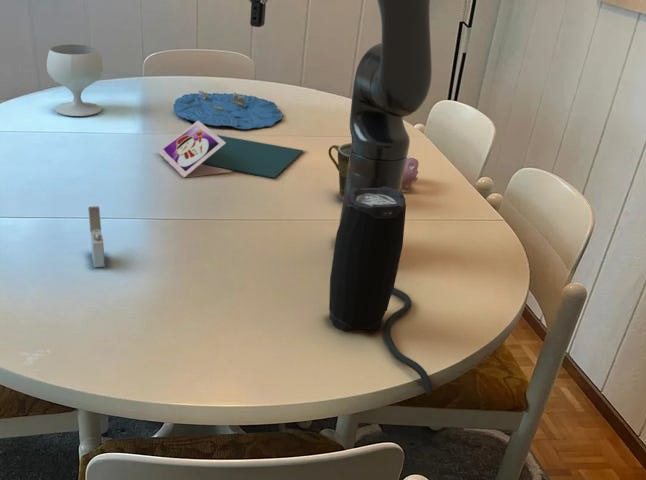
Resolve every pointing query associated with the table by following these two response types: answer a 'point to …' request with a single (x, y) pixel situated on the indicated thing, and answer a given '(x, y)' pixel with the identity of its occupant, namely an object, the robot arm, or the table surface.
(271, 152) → the placemat
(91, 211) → the lighter
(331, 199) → the table surface
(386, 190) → the portable speaker
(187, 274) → the table surface
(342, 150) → the ceramic cup
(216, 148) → the greeting card
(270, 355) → the table surface
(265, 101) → the decorative plate
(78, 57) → the chalice
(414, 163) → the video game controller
